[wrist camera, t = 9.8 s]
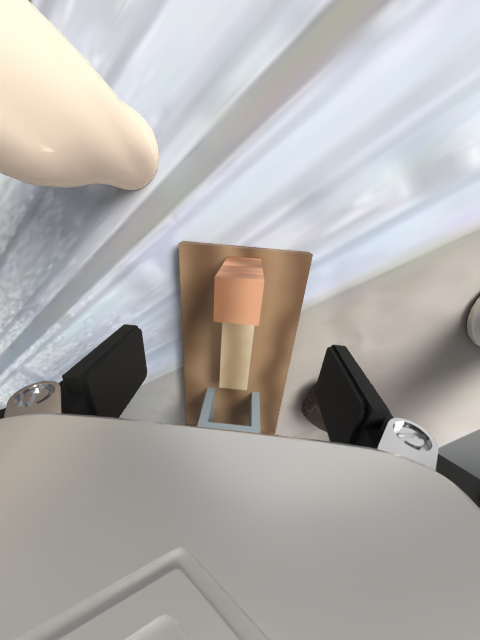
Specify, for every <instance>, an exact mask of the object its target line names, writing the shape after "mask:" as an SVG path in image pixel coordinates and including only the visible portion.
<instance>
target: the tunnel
mask: <svg viewBox="0 0 480 640" xmlns="http://www.w3.org/2000/svg"><path fill="white" fill-rule="evenodd" d="M214 404H215V388H210V387H208V388H207V392H206V396H205V399H204V403H203V407H202V410H201V414H200V418H199V422H198V425H197V426H199V427H208V428H217V429H226V430H235V431H244V432H253V433H261V431H260V397H259V392H252V395H251V403H250V411H249V419H248V426H242V425H233V424H223V423H213V418H214Z"/></svg>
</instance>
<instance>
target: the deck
mask: <svg viewBox="0 0 480 640" xmlns="http://www.w3.org/2000/svg"><path fill="white" fill-rule="evenodd" d="M228 256H235V257H246V258H257V259H261V262H262V268H263V275H264V281H265V282H264V290H263V298H262V305H261V313H260V321H259V326H254V334H253V343H252V351H251V360H250V368H249V377H248V385H247V390H239V389H229V388H219V382H220V360H221V339H222V322H214V286H215V276H216V274H217V273H218V271H219V269H220V268H221V266H222V265H223V263H224V262H225V260H226V258H227V257H228ZM312 256H313V255H312V254H311V253H310V252H302V251H291V250H279V249H268V248H256V247H245V246H234V245H222V244H211V243H199V242H188V241H182V242H180V243H179V266H180V289H181V313H182V337H183V361H184V384H185V408H186V425H190V426H197V425H198V422H199V418H200V414H201V410H202V407H203V403H204V399H205V396H206V392H207V388H208V387H210V388H215V404H214V418H213V423H223V424H233V425H242V426H248V419H249V411H250V403H251V395H252V392H259V397H260V431H261V433H262V434H271V435H274V434H275V430H276V425H277V420H278V415H279V411H280V406H281V401H282V397H283V392H284V387H285V383H286V378H287V373H288V368H289V364H290V359H291V354H292V350H293V345H294V340H295V336H296V331H297V326H298V322H299V317H300V312H301V307H302V303H303V298H304V293H305V289H306V284H307V279H308V275H309V270H310V265H311V260H312Z"/></svg>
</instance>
